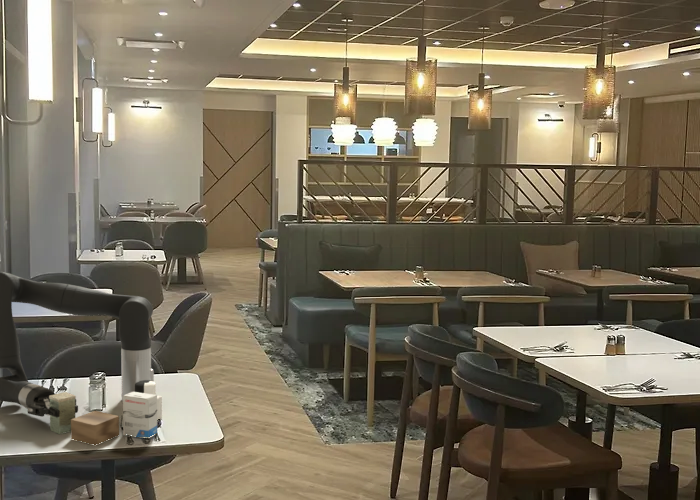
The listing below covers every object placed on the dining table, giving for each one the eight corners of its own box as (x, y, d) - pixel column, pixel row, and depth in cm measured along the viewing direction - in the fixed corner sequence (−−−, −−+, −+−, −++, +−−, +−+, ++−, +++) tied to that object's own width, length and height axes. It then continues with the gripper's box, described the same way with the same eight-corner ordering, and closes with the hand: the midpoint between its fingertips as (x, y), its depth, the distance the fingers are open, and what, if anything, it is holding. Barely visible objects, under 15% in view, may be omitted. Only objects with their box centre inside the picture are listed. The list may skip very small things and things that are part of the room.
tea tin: (66, 425, 231) (65, 391, 229) (76, 429, 227) (75, 395, 226) (49, 429, 227) (49, 395, 225) (59, 434, 223) (58, 399, 222)
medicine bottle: (128, 422, 234) (127, 383, 233) (142, 415, 241) (142, 377, 240) (148, 426, 232) (148, 386, 231) (162, 418, 239) (162, 380, 237)
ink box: (158, 434, 226) (158, 394, 224) (148, 440, 221) (148, 399, 220) (132, 430, 228) (132, 390, 227) (122, 435, 224) (122, 395, 222)
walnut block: (95, 430, 228) (95, 410, 227) (119, 436, 224) (118, 416, 223) (71, 440, 220) (70, 419, 219) (95, 446, 216) (94, 425, 215)
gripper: (13, 391, 230) (43, 404, 219) (59, 381, 240) (90, 393, 230) (14, 416, 230) (44, 430, 220) (59, 405, 241) (90, 418, 230)
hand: (67, 411), depth 225 cm, fingers closed on tea tin, 5 cm apart
